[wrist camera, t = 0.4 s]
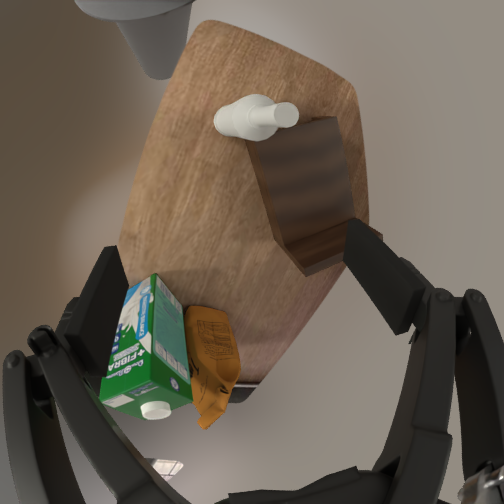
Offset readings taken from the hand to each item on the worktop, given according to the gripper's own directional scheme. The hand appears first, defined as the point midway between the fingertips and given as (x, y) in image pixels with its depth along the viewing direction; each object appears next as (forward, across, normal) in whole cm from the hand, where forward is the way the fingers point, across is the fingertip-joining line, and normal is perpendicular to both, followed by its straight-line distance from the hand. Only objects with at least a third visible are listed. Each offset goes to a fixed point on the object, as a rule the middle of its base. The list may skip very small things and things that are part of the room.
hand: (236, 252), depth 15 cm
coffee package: (+28, -7, -34) cm, 45 cm away
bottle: (+33, +3, +4) cm, 33 cm away
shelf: (+33, +14, -6) cm, 36 cm away
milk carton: (+28, -15, -26) cm, 41 cm away
